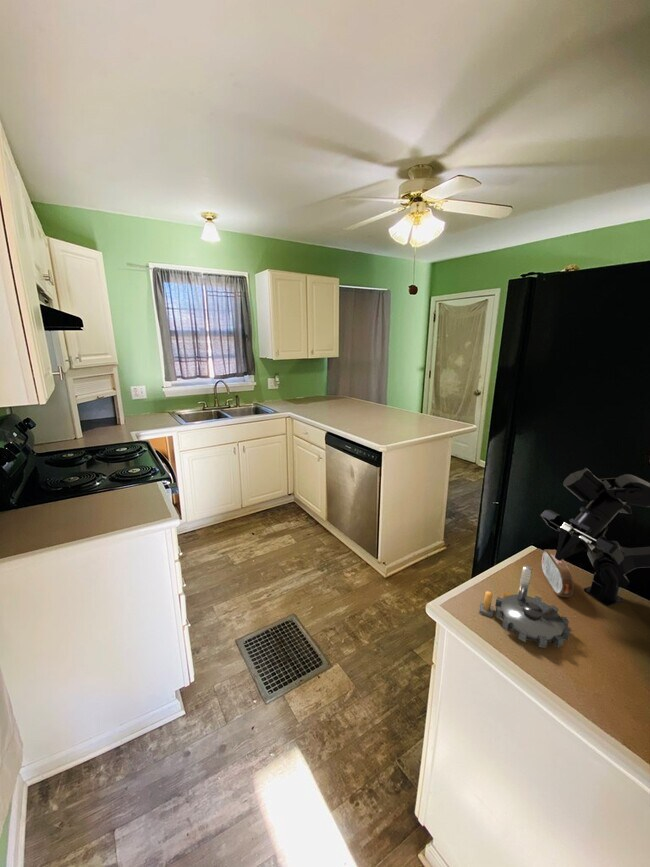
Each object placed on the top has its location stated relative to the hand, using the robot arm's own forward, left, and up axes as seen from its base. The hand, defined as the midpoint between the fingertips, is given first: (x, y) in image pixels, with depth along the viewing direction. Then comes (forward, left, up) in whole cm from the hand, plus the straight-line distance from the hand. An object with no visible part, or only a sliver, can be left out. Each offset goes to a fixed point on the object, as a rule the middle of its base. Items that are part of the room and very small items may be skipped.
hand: (556, 559), depth 90 cm
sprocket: (+12, +5, -11) cm, 17 cm away
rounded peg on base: (+18, -2, -13) cm, 22 cm away
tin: (-7, -5, -13) cm, 15 cm away
